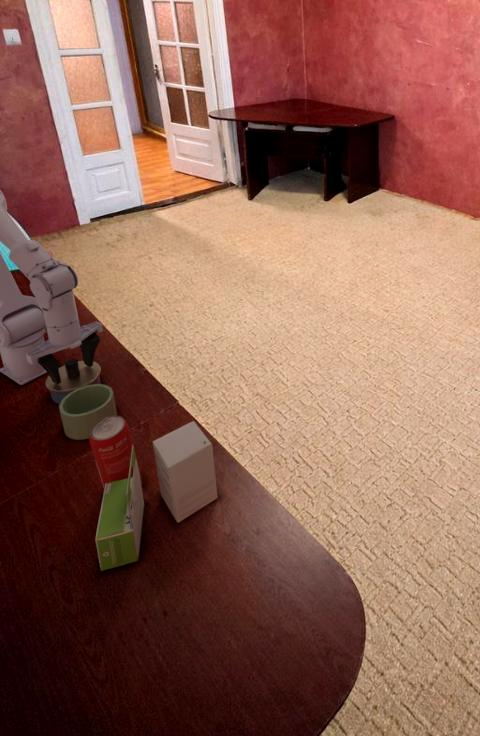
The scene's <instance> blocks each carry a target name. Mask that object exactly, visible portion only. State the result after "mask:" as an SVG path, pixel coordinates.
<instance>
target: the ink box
mask: <svg viewBox="0 0 480 736" xmlns="http://www.w3.org/2000/svg"><path fill="white" fill-rule="evenodd" d="M133 445H134V443H133V444H132V453H131V461H130V468H129V476H128V479H123V480H119V481H115V482H110V483H106V484H105V489H104V488H103V496H102V501H101V506H100V511H99V517H98V522H97V528H96V534H95V545H96V550H97V557H98V563H99V567H100V571H101V572H103V571H106V570H110V569H113V568H118V567H121V566H125V565H128V564H132V563H136V562H138V561H139V559H140V549H141V539H142V530H143V521H144V512H145V501H144V494H143V488H142V484H141V481H140V474H139V470H138V465H137V461H136V456H137V455H136V456H135V453H136V450H135V451H134V449H135V446H134V447H133ZM132 465H133V477H132V478H131V469H132Z"/></svg>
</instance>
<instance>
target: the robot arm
mask: <svg viewBox="0 0 480 736" xmlns="http://www.w3.org/2000/svg"><path fill="white" fill-rule="evenodd" d="M0 243H1V244H3V245H4V246H5V247H6V249H8V250H9V254H8V258H9V260H10V261H11V262H12V263H13V264H14V265H15V266H16V267H17V269H18V270H19V271H20V272H21V273H22V274H23V275H24V276H25V277H26V279H28V281H29V283H30V284H29V289H30V291H31V292H32V294H33V296H30V295H24V294H22V292H21V290H20V288H19V286H18V284H17V283H16V280H15V279H14V277H13V275H12V272H11V271H10V268H9V267H8V264H7V263H6V261H5V259H4V257H3V254H2V252H0V357H1V360H2V364H3V367H1V368H0V373H2V374H3V375H5V376H6V377H8V378H9V379H10V380H12V381H14V382H15V383H17V384H18V385H20V386H23V385H25V384H27V383H30V382H32V381H33V380H35V379H38V378H39V377H40V376H44V375H45V374H48V376H50V378H51V379H52V382H54V383H56V384H57V385H58V384H60V383H61V378H60V374H59V368H60V367H59V365H60V360H59V359H57V358H56V357H55V355H54V354H55V353H57V352H60V351H63V350H67V349H71V350H73V349H76V348H78V347H80V350H81V356H82V361H84V364H85V365H87V366H89V367H91V366H93V362H94V359H95V355H96V352H97V351H96V350H97V348H98V346H99V344H100V342H101V337H100V336H99V335H97V334H100V333H102V332H104V327H103V323H101V322H100V321H99V322H98V321H94V322H91V323H89V324H85V325H80V319H79V313H78V310H77V304H76V299H75V293H74V289H76V288H77V287H78V285H79V278H78V275H77V273H76V271H75V270H74V269H73V267H72V266H71V265H70V264H69V263H65V262H62V261H61V260H59V259H57V260H56V259H55V258H54V257H53V256H52V255H51V254H50V252H48V250H47V249H46V248H45V247H44V246H43V245H42V244H41V243H40V242H39V241H37V240H35V239H34V240H33V239H28V237H27V236H26V235H25V234H24V232H23V231H22V230H21V229H20V227H19V226H18V225H17V224H16V222H15V221H14V220H13V218H12V216H10V214H9V213H8V204H7V199H6V197H5V194H4V193H3V192H2V190H1V189H0ZM46 333H47V338H48V339H47V340H46V341H45V338H44V337H45V336H44V334H46Z"/></svg>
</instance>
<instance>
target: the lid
mask: <svg viewBox="0 0 480 736" xmlns="http://www.w3.org/2000/svg"><path fill="white" fill-rule="evenodd" d="M101 372H102V369H101V366H100V364H99V363H97V362H96V361H93V366H91V367H89V366H87V365H85V364H84V361H83V360H79V361H78V358H69V359H67V360H66V361H65V362H64V364H63V365H62V366H60V367H59V374H60V378H61V383H60V384H58V385H57V384H56V383H54V382H52V379H51V378H50V376H49V375H48V376H47V378H46V379H45V386H46V389H47V390H48V391H49V392H50V391H52V392H56V393H66V392H72V391H75V390H76V389H78V388H81V387H84V386H87V385H89V384H91V383H92V382H94V381H95V380H96V379H97V378H98V377H99V376H100V375H101Z"/></svg>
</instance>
